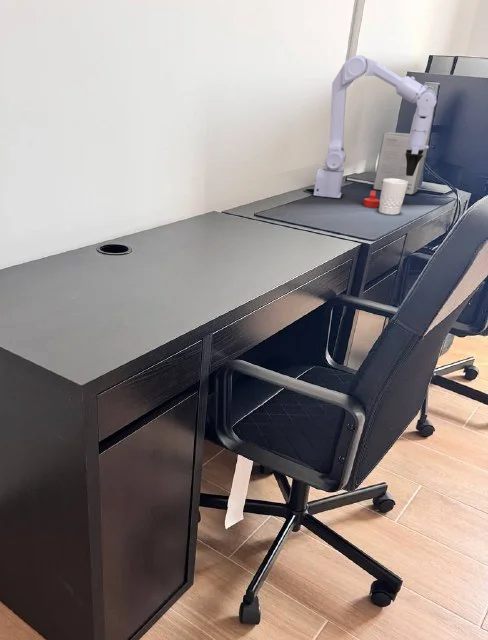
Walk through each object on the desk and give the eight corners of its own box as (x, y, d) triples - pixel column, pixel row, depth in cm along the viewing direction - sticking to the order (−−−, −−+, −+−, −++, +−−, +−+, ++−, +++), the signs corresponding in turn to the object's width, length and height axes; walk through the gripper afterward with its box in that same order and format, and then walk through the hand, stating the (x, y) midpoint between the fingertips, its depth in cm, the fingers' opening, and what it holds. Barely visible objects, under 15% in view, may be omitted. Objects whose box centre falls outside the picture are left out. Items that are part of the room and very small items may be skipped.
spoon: (378, 208, 197) (380, 199, 195) (362, 206, 198) (364, 197, 196) (379, 199, 207) (381, 191, 206) (364, 198, 209) (366, 189, 207)
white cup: (388, 216, 187) (395, 184, 182) (371, 210, 193) (377, 179, 188) (406, 214, 190) (413, 182, 185) (389, 208, 196) (395, 177, 191)
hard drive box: (417, 192, 222) (431, 135, 211) (412, 195, 216) (426, 137, 206) (377, 186, 229) (388, 131, 218) (371, 189, 223) (383, 132, 213)
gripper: (432, 134, 185) (421, 178, 192) (432, 129, 196) (421, 171, 204) (409, 132, 187) (399, 176, 194) (410, 127, 198) (401, 169, 205)
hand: (409, 173), depth 199 cm, fingers open, 7 cm apart
